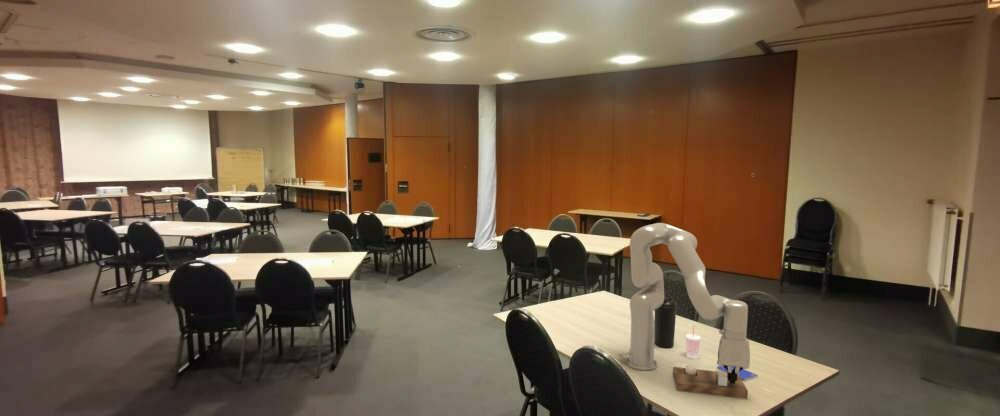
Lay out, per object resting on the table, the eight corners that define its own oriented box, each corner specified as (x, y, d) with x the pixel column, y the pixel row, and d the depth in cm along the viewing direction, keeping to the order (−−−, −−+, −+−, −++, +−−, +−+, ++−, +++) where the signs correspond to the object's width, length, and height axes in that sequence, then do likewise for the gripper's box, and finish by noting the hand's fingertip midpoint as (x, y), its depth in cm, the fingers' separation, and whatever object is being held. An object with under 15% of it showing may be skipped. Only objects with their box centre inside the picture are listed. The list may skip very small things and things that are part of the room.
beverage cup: (702, 358, 201) (704, 327, 200) (691, 360, 199) (693, 328, 198) (692, 352, 207) (694, 322, 205) (681, 354, 205) (683, 324, 203)
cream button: (685, 376, 180) (686, 369, 179) (684, 371, 184) (684, 364, 183) (696, 377, 179) (697, 370, 178) (695, 373, 183) (695, 365, 182)
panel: (677, 390, 173) (677, 382, 172) (673, 373, 186) (673, 366, 186) (747, 399, 167) (748, 391, 166) (738, 381, 180) (738, 373, 180)
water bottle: (679, 344, 216) (681, 296, 213) (670, 351, 208) (672, 301, 206) (658, 338, 222) (659, 292, 220) (648, 345, 215) (650, 297, 213)
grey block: (718, 385, 170) (718, 376, 169) (715, 379, 175) (715, 370, 174) (727, 386, 169) (727, 377, 169) (724, 380, 174) (724, 371, 173)
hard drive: (757, 374, 183) (729, 362, 194) (744, 378, 180) (716, 366, 191) (757, 378, 184) (729, 366, 195) (744, 382, 180) (716, 370, 191)
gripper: (714, 336, 167) (712, 384, 169) (760, 340, 163) (757, 389, 165) (710, 328, 174) (708, 375, 176) (754, 332, 171) (751, 379, 173)
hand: (731, 381), depth 171 cm, fingers closed
